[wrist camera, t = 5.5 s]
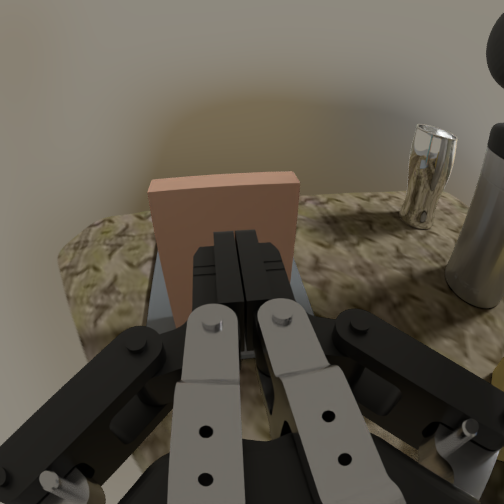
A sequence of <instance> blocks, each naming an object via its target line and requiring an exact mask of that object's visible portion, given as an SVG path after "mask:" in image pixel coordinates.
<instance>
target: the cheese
mask: <svg viewBox="0 0 504 504" xmlns="http://www.w3.org/2000/svg"><path fill="white" fill-rule="evenodd" d="M491 384H492V385H493V386H495V387H497V388H498V389H500V390H502V391H503V392H504V357H503V359H502V360H501V361H500V363H499V364H498V365H497V367H496V368H495V369H494V371H493V374H492V382H491ZM497 460H500V461H503V462H504V447H503V448H501V450H500V451H499V454H498V457H497Z"/></svg>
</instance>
